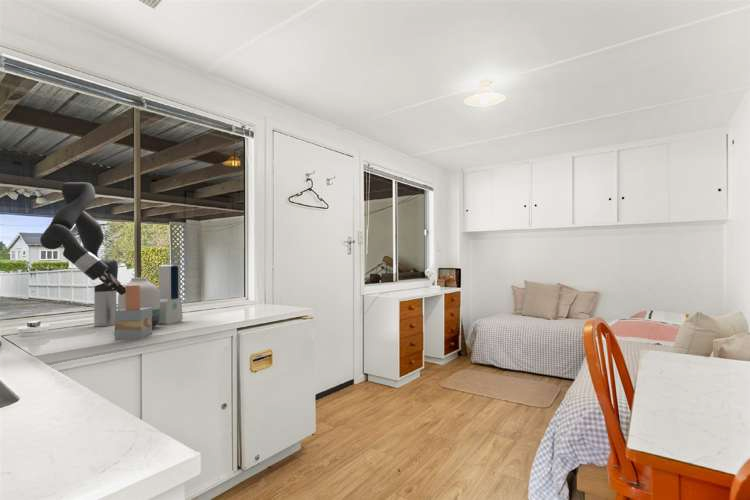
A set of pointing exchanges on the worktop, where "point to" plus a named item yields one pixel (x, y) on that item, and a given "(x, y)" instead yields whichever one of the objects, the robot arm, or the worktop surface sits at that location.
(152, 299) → the vase
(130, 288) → the pillar
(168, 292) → the electronic device
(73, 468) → the worktop surface
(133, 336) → the tower slab bottom
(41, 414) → the worktop surface
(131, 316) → the tower slab top
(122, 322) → the tower slab middle
